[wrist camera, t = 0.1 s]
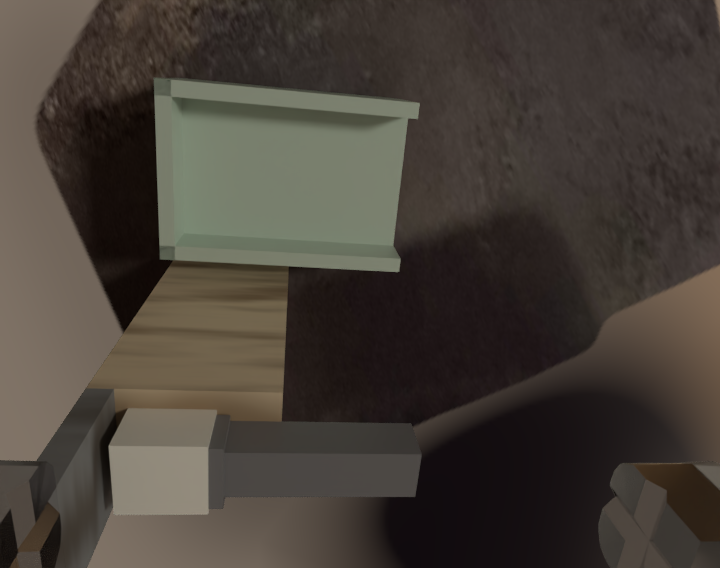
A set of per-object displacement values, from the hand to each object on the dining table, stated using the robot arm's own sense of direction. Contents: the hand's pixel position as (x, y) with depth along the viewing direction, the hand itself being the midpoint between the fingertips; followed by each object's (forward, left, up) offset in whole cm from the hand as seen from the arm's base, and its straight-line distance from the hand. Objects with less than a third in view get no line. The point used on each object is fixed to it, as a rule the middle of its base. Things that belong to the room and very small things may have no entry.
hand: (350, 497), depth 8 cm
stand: (+15, -6, -48) cm, 51 cm away
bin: (+2, -1, -48) cm, 48 cm away
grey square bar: (+15, -1, -22) cm, 27 cm away
